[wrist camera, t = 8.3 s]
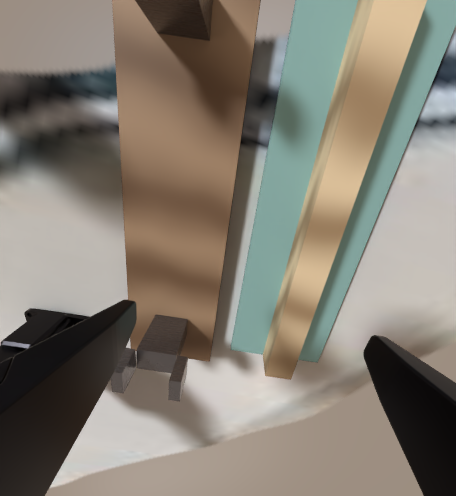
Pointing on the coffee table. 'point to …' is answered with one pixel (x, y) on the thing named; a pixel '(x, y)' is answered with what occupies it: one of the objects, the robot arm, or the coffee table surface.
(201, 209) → the walnut board
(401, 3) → the oak rail
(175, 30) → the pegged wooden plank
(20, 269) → the coffee table surface
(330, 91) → the teal mat
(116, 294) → the coffee table surface
